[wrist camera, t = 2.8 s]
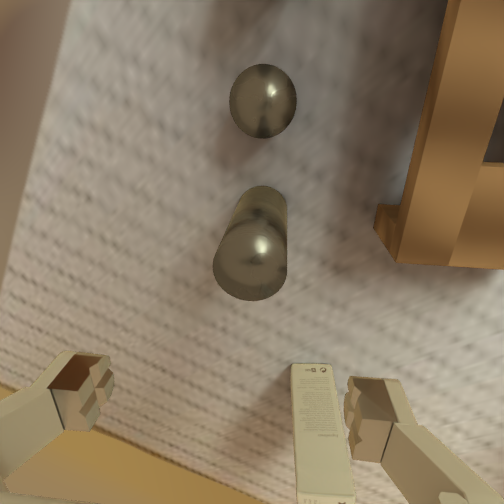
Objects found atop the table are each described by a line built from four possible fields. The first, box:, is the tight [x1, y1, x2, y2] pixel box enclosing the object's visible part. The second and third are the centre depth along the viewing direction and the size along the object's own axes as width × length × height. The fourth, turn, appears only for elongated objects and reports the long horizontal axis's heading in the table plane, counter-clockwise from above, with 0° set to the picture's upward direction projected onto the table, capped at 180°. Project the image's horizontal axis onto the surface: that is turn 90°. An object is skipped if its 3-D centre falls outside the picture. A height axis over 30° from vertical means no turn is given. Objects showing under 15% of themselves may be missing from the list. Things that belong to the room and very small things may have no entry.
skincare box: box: [290, 364, 356, 504], centre depth 29 cm, size 6×4×12 cm
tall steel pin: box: [213, 186, 287, 301], centre depth 22 cm, size 4×4×10 cm
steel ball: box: [229, 64, 297, 138], centre depth 21 cm, size 4×4×4 cm
